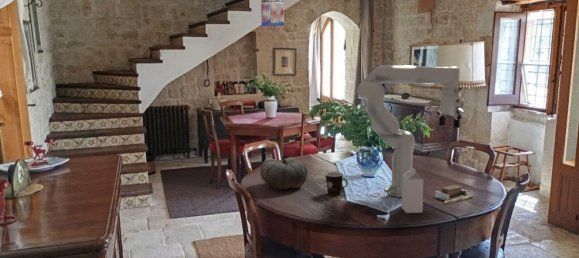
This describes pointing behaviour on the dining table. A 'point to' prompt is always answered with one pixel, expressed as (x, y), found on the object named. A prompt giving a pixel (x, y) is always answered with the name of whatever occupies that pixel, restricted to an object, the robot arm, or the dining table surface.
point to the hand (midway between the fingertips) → (449, 126)
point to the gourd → (283, 173)
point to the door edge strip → (458, 199)
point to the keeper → (446, 196)
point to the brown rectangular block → (452, 191)
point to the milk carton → (412, 192)
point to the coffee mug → (334, 183)
